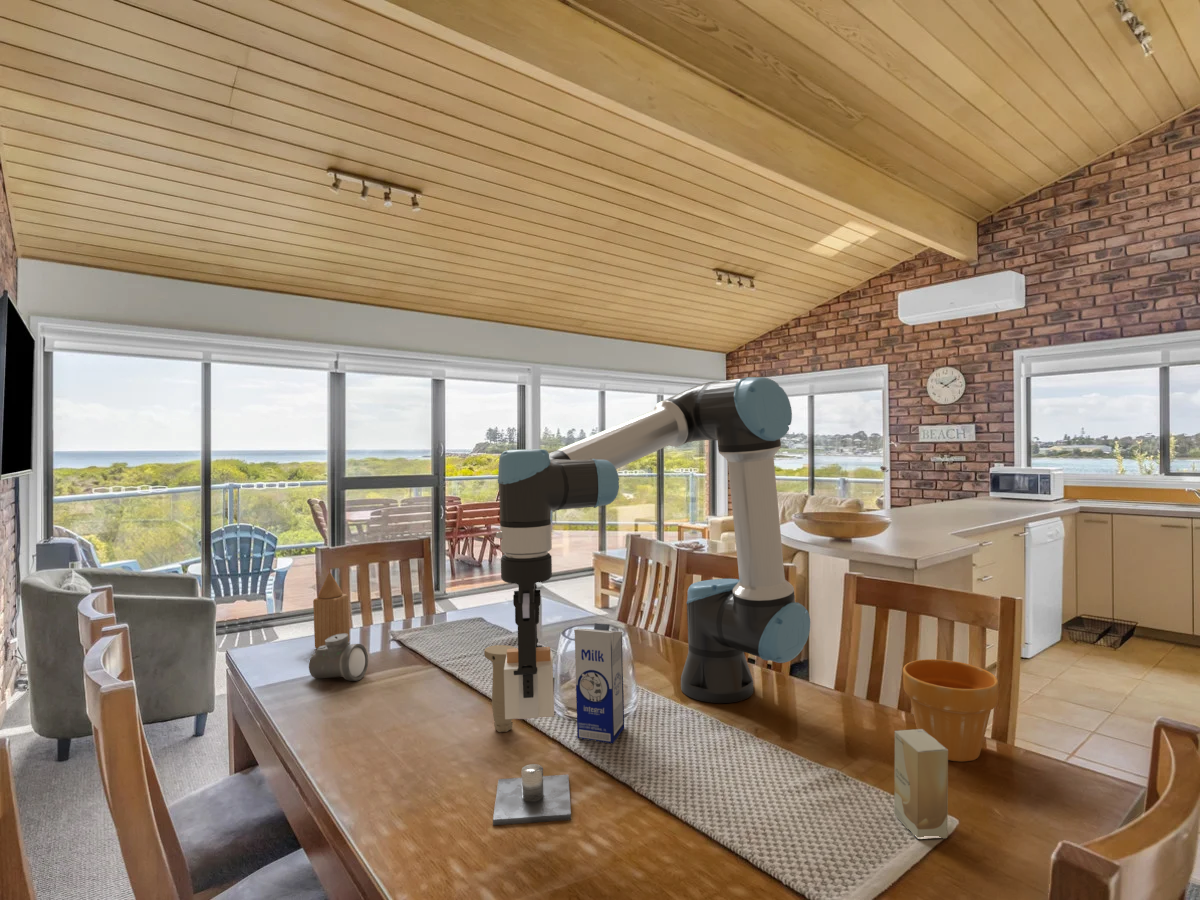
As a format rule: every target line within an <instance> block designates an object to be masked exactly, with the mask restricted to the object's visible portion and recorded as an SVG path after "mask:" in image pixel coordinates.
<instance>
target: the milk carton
mask: <svg viewBox="0 0 1200 900" xmlns="http://www.w3.org/2000/svg"><path fill="white" fill-rule="evenodd" d="M610 625H611V624H609V623H606V624H605V623H598V622H595V623H594V626H593V629H592V628H579V627H578V628H575V629H573V630H574V655H575V656H574V657H575V658H574V659H575V661H574V662H575V699H576V701H575V702H576V732H577V734H576V736H577V737H576V738H577V739H578V738H582V739H581V740H584V739H589V740H588V741H591V740H596V741H595V742H598V741H599V742H598V743H605V742H606V744H611V743H612V744H614V743H615V742H616V740H617V739H618V737H619V736H620V735H621V733H622V732H623V731H624V729H625V705H624V704H625V702H624V693H625V692H624V666H623V665H624V663H623V661H624V660H623V655H624V654H623V631H618V630H617V631H616V630H610Z"/></svg>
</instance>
